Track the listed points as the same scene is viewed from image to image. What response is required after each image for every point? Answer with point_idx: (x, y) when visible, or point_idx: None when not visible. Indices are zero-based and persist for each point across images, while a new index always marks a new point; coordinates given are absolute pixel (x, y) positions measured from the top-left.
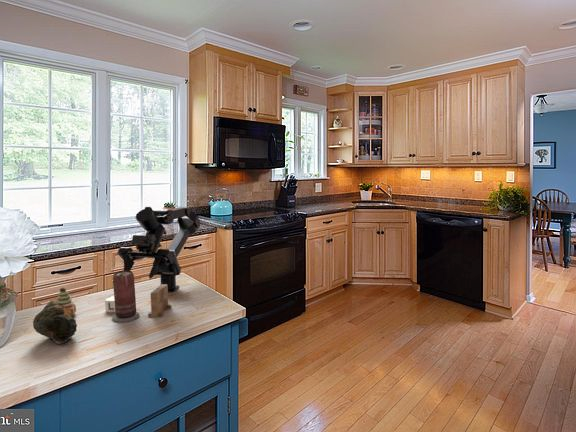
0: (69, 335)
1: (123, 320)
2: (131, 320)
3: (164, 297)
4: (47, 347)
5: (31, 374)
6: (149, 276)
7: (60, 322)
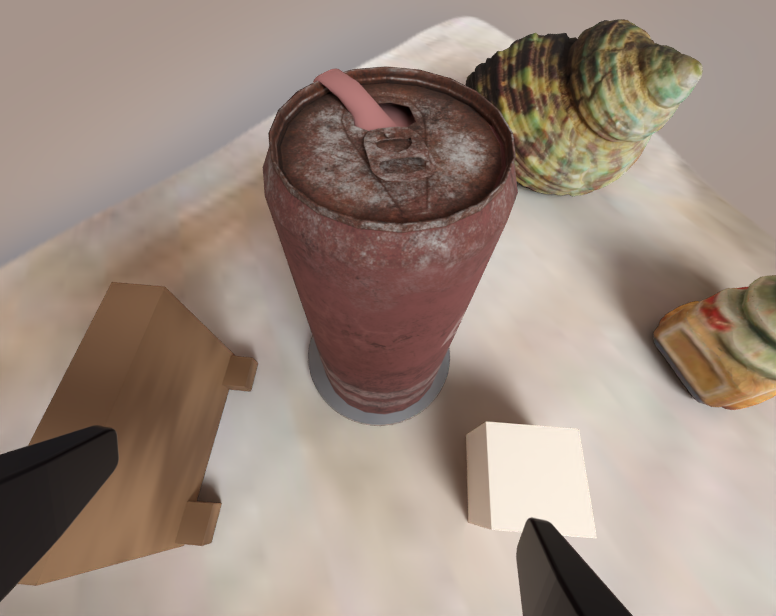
0: None
1: None
2: None
3: None
4: None
5: (463, 45)
6: (100, 428)
7: (595, 180)
